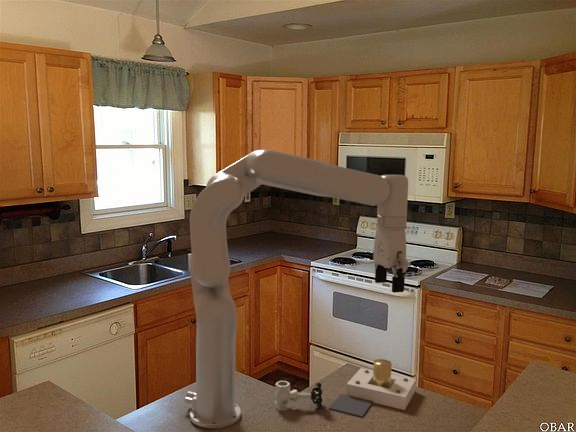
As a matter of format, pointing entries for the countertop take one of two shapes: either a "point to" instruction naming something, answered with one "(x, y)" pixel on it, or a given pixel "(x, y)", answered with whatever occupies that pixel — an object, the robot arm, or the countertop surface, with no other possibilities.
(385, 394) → the plate
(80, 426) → the countertop surface
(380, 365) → the brass domed cylinder
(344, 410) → the mat
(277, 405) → the valve
